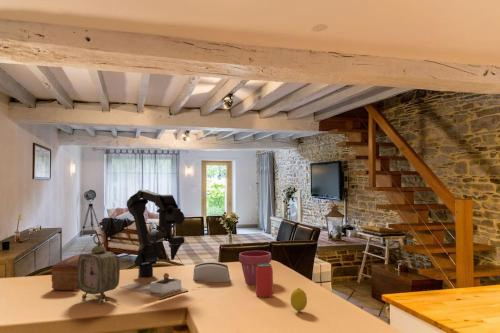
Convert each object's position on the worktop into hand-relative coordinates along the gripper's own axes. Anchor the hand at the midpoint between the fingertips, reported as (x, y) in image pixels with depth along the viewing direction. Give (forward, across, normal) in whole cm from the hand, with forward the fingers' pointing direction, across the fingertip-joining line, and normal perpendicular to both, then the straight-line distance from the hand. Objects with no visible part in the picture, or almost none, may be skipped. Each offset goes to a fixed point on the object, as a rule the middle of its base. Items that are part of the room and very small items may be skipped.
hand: (165, 258), depth 165 cm
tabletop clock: (+11, -3, -30) cm, 32 cm away
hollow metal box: (+10, +12, -10) cm, 19 cm away
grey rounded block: (+11, +14, +15) cm, 23 cm away
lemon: (+11, +66, +1) cm, 67 cm away
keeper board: (+11, +4, -10) cm, 15 cm away
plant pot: (+11, +31, +25) cm, 41 cm away
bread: (+11, -33, -21) cm, 41 cm away
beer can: (+11, +46, +10) cm, 48 cm away
